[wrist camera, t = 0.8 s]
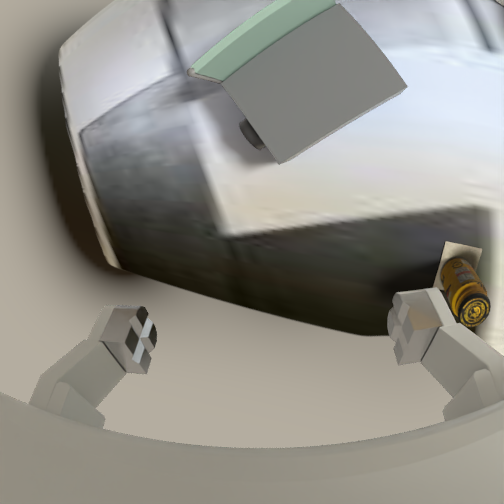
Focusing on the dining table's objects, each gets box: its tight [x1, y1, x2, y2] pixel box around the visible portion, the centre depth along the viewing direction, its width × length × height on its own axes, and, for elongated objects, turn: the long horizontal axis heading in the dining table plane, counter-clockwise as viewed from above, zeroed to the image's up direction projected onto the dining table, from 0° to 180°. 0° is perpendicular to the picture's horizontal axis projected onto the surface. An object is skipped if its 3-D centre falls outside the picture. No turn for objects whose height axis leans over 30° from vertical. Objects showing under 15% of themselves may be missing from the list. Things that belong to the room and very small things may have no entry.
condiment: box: [433, 242, 490, 327], centre depth 35 cm, size 7×8×12 cm
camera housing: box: [221, 3, 407, 165], centre depth 35 cm, size 22×14×7 cm, turn 126°
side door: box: [187, 0, 336, 84], centre depth 31 cm, size 20×2×14 cm, turn 126°
